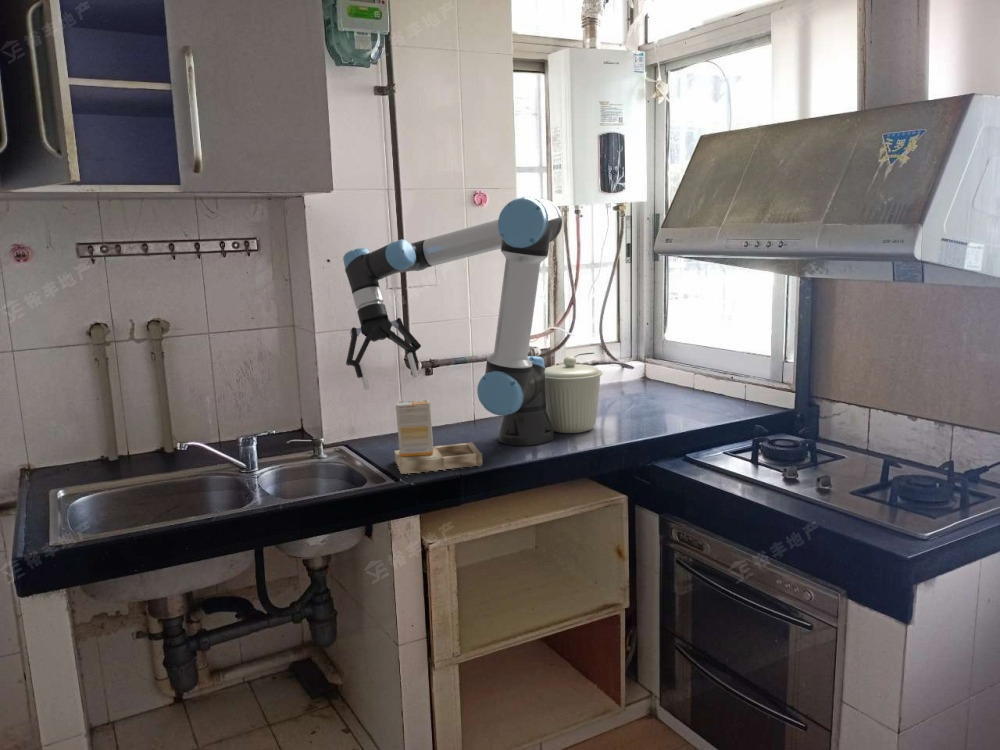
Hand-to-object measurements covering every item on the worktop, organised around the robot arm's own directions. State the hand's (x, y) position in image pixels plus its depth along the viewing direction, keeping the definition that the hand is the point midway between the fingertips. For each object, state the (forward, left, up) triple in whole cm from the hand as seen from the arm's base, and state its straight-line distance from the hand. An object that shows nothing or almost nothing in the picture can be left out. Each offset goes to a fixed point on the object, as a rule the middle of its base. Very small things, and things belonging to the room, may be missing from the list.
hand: (391, 383), depth 210 cm
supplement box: (-3, +17, -15) cm, 23 cm away
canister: (-50, -3, -19) cm, 54 cm away
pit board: (-8, +17, -18) cm, 27 cm away
